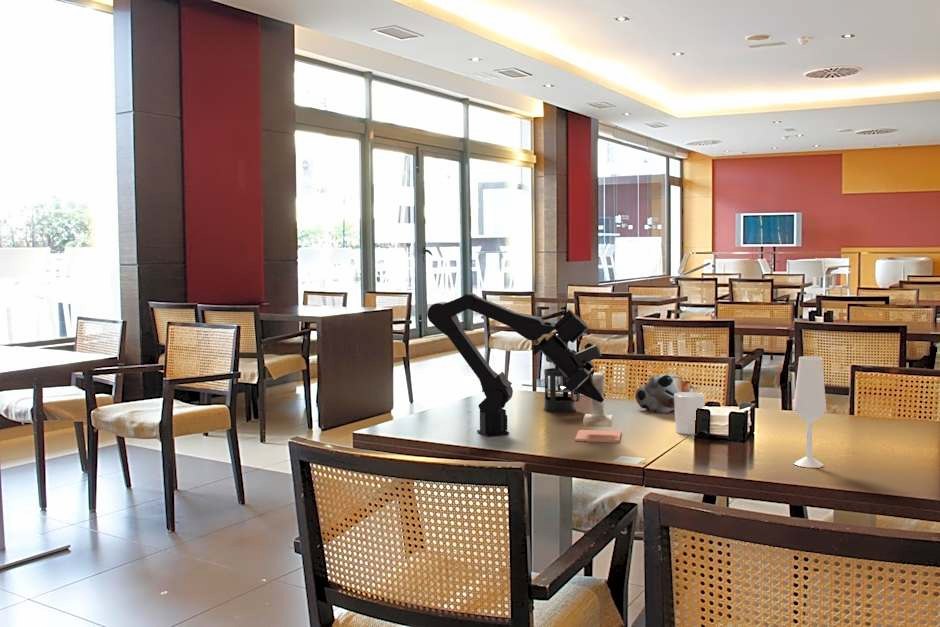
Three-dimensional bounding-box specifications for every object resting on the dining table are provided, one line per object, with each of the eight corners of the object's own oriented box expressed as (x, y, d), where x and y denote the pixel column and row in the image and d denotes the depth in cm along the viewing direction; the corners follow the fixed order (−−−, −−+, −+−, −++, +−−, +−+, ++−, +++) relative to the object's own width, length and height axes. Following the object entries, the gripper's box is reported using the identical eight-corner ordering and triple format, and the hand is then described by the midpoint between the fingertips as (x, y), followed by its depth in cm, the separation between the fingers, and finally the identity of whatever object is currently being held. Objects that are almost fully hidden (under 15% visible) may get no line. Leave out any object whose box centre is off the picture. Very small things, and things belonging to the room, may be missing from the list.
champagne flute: (817, 461, 200) (819, 355, 198) (830, 468, 194) (832, 359, 192) (787, 461, 200) (789, 356, 198) (799, 469, 193) (801, 359, 192)
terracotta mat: (574, 441, 224) (575, 438, 224) (579, 432, 234) (579, 429, 234) (619, 442, 221) (619, 440, 221) (621, 433, 232) (621, 431, 232)
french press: (536, 410, 266) (535, 334, 264) (550, 405, 274) (549, 331, 272) (572, 414, 259) (571, 335, 258) (585, 408, 267) (585, 332, 266)
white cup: (702, 429, 236) (702, 392, 235) (707, 435, 228) (707, 397, 228) (671, 428, 237) (672, 391, 236) (675, 435, 229) (676, 396, 228)
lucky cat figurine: (676, 405, 271) (694, 368, 265) (683, 427, 260) (702, 389, 254) (630, 392, 270) (647, 354, 263) (635, 414, 259) (653, 375, 253)
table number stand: (583, 426, 225) (583, 375, 224) (585, 421, 231) (585, 372, 230) (611, 427, 224) (611, 376, 223) (612, 422, 230) (612, 372, 229)
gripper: (579, 337, 217) (624, 383, 216) (586, 330, 236) (627, 372, 234) (547, 368, 220) (592, 414, 218) (556, 358, 238) (597, 400, 236)
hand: (603, 399), depth 227 cm, fingers closed on table number stand, 6 cm apart
